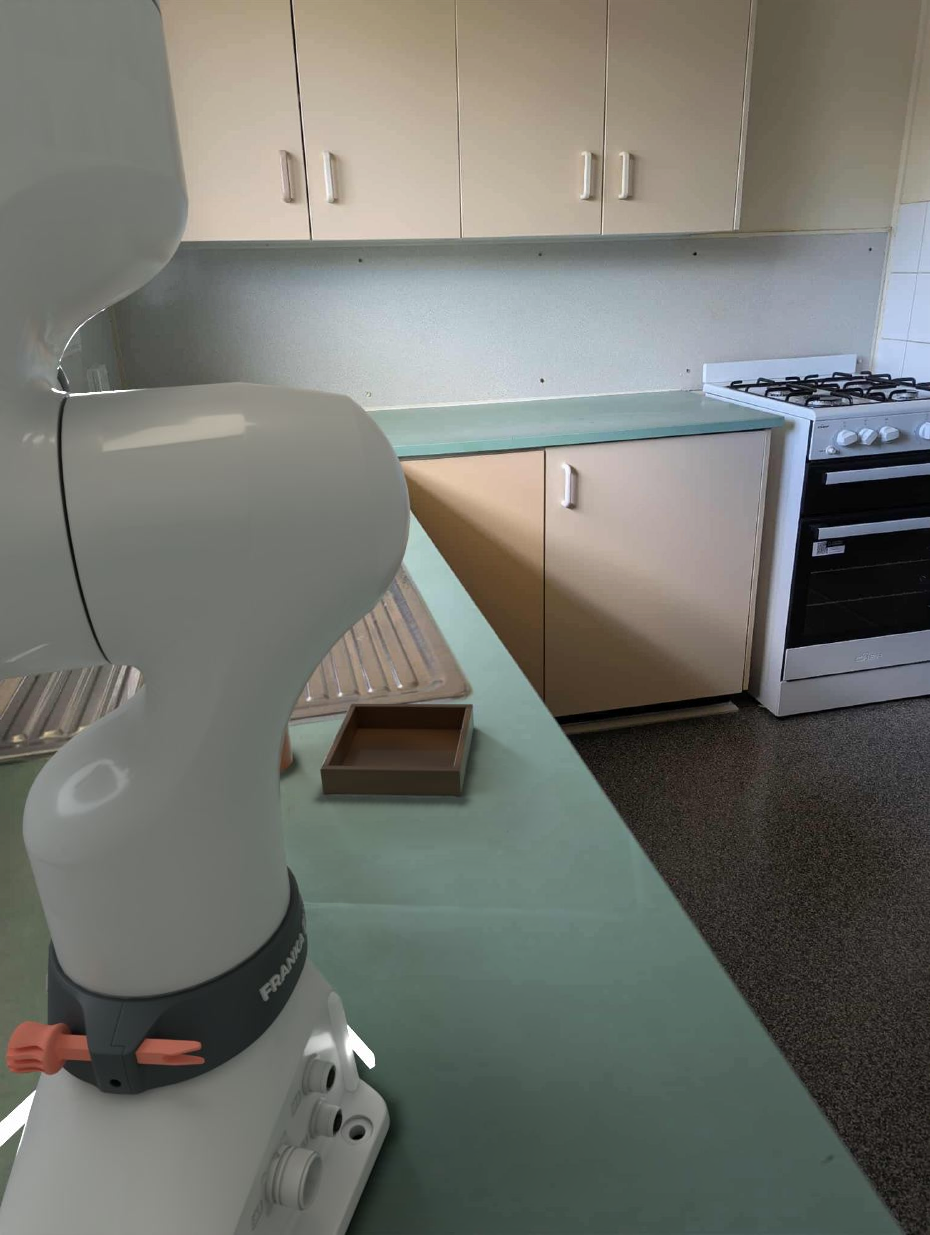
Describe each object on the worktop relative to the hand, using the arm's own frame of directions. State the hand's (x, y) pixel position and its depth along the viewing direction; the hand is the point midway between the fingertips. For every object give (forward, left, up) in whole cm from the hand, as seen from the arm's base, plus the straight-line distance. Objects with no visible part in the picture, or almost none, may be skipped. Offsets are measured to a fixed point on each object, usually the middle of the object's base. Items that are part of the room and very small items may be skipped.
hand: (170, 629), depth 79 cm
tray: (0, -20, -14) cm, 25 cm away
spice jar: (-1, -7, -14) cm, 16 cm away
